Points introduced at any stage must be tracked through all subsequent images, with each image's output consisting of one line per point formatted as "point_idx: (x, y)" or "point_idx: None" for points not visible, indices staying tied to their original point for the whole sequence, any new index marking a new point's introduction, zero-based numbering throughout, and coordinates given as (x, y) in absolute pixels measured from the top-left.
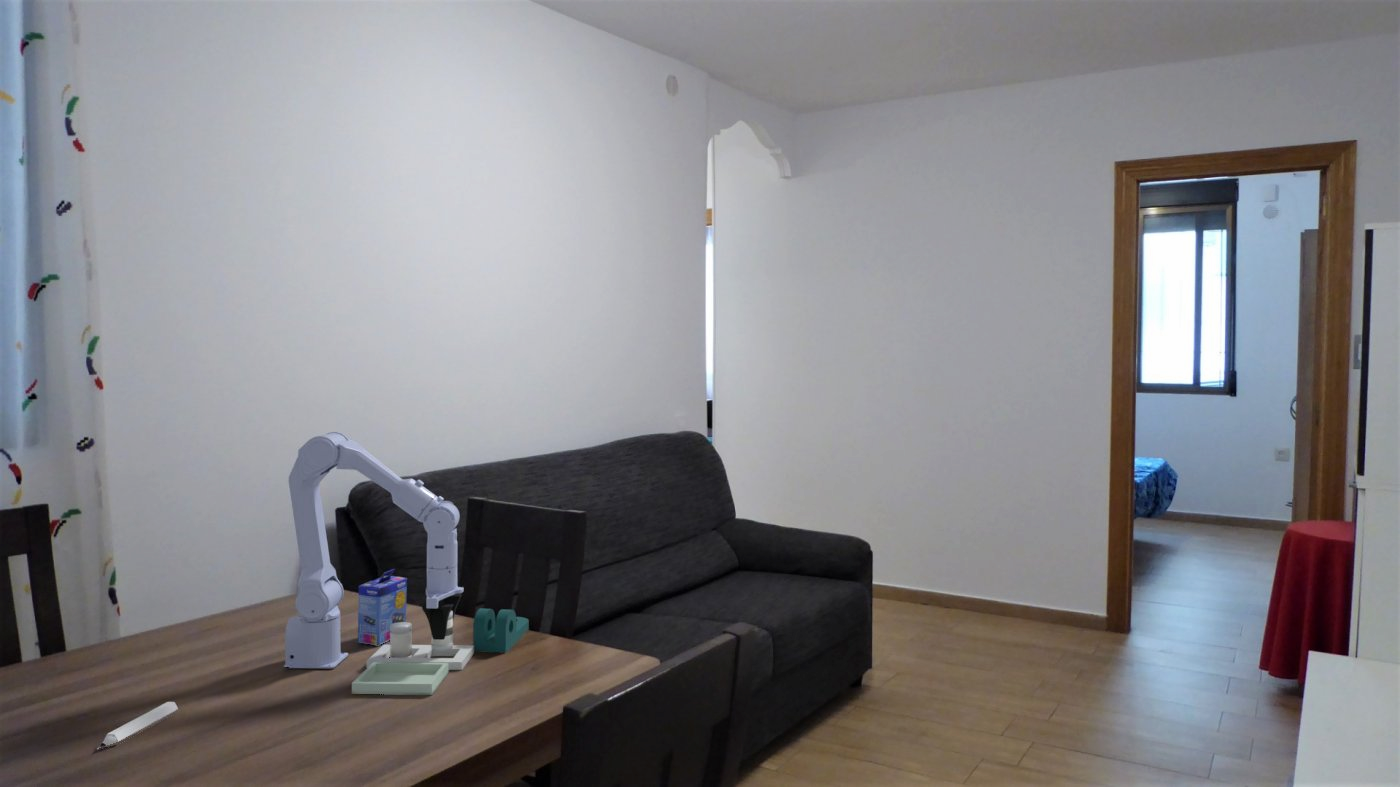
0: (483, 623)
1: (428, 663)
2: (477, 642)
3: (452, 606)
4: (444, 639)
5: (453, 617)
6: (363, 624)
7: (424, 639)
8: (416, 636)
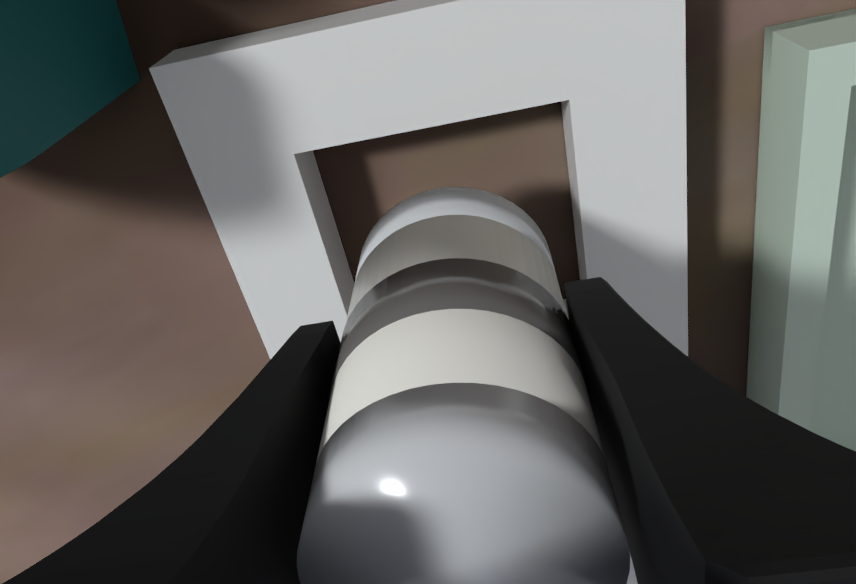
0: None
1: (811, 225)
2: (86, 59)
3: (706, 538)
4: (551, 279)
5: (254, 410)
6: None
7: (84, 493)
8: (62, 544)
